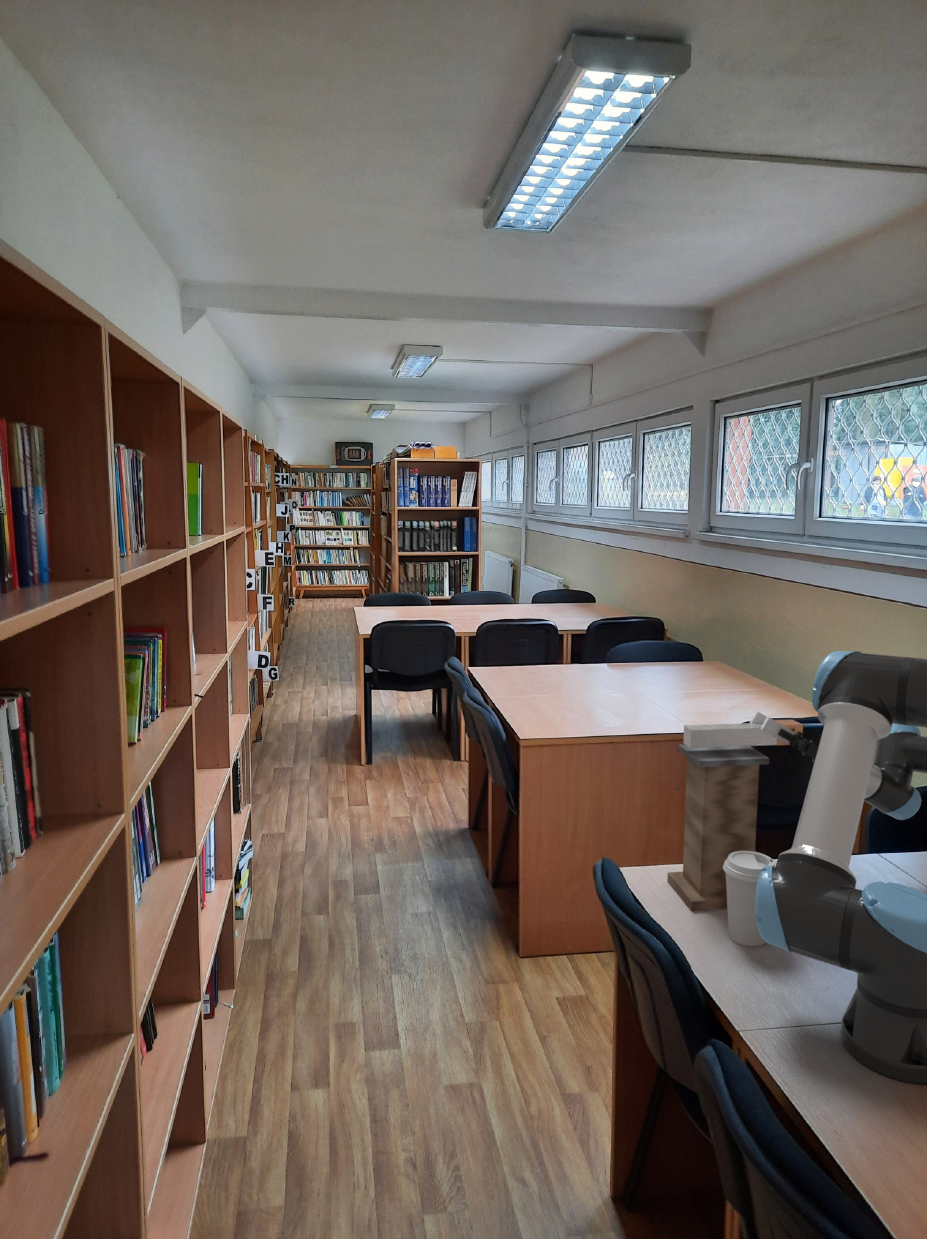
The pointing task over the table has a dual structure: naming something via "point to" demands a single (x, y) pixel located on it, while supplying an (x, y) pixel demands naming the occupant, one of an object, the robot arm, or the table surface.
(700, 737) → the wood grain block
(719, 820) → the post
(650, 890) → the table surface
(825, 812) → the robot arm
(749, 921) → the coffee cup
